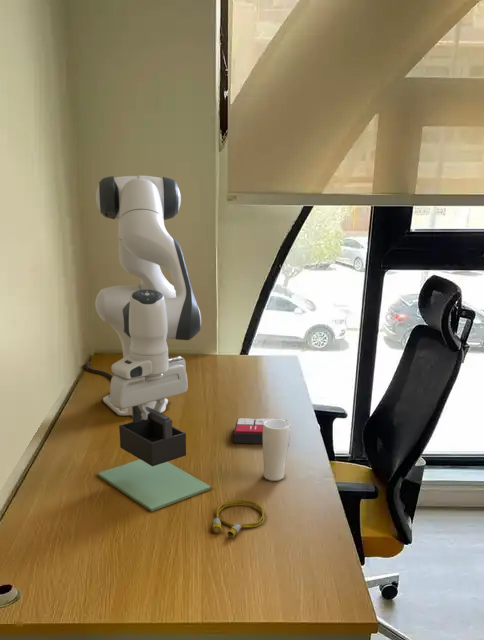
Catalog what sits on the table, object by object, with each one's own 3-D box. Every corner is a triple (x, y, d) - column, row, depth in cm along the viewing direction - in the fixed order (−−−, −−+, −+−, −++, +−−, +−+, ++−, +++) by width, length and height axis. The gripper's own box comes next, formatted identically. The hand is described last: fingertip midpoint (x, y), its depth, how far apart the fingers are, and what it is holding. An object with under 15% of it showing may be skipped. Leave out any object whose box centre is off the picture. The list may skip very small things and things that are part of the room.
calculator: (237, 416, 206) (287, 417, 204) (237, 430, 208) (287, 430, 206) (233, 431, 196) (286, 431, 195) (233, 444, 198) (285, 445, 196)
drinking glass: (272, 468, 183) (275, 416, 177) (292, 477, 179) (295, 424, 172) (255, 476, 179) (257, 423, 172) (274, 485, 175) (277, 431, 168)
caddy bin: (120, 447, 172) (117, 406, 168) (153, 437, 178) (151, 398, 174) (152, 466, 163) (150, 423, 158) (186, 455, 169) (185, 414, 164)
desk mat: (97, 475, 177) (97, 472, 177) (155, 457, 188) (155, 454, 188) (151, 511, 161) (151, 508, 161) (210, 489, 172) (210, 486, 172)
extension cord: (192, 520, 158) (192, 513, 157) (241, 499, 168) (241, 491, 167) (228, 542, 150) (228, 534, 149) (277, 518, 160) (278, 510, 159)
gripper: (177, 351, 169) (178, 404, 175) (105, 366, 157) (108, 423, 163) (193, 357, 165) (193, 411, 171) (120, 373, 153) (123, 431, 159)
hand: (151, 417), depth 167 cm, fingers closed on caddy bin
